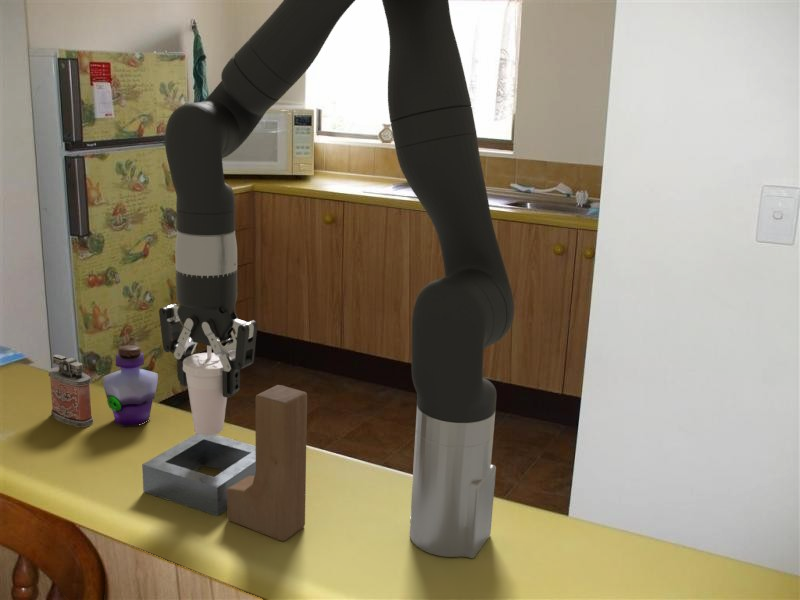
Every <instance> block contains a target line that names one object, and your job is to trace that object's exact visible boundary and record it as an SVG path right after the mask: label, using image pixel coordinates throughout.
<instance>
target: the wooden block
mask: <svg viewBox="0 0 800 600" xmlns="http://www.w3.org/2000/svg"><path fill="white" fill-rule="evenodd" d="M307 419H308V393H307V392H306V391H302V390H300V389H295V388H293V387H289V386H285V385H281V384H276V385H274V386H272V387H271V388H268V389H266V390H264V391H262V392H260V393H258V394H256V396H255V446H256V472H255V476H248V477H246V478H244V479H243V480H241V481H239V482H238V483H236V484H234V485H233V486H231V487H229V488H228V489H227V510H226V516H227V520H228V521H229V522H231V523H235V524H238V525H240V526H242V527H245V528H247V529H250V530H253V531H254V532H257V533H260V534H263V535H264V536H268V537H270V538H273V539H275V540H278V541H280V542H286V541H287V540H288V539H291V537H292V536H293V535H295V534H296V533H298V532H299V531H300V530H302V529H303V528H304V527H305V525H306V492H307V491H306V488H307V487H306V484H307V483H306V482H307V481H306V478H307V477H306V475H307V427H308V426H307V422H308V420H307Z"/></svg>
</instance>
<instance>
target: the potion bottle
mask: <svg viewBox="0 0 800 600" xmlns="http://www.w3.org/2000/svg"><path fill="white" fill-rule="evenodd" d="M141 351H142V349H141V347H140V346H139V345H130V344H129V345H122V346H119V347H118V351H117V353H116V354H115V367H118V368H120V370H117V371H114V372H111V373H108V374H106V375H104V376H103V380H102V386H103V389H104V393H105V397H106V402H107V405H108V408H109V409H110V410H111V411H112V414H113V417H114V425H117V426H120V427H124V428H132V427H134V428H135V427H141V426H143V425H144V424H142V423H144V422H146V421H147V423H149V422H148V420H149V417H150V418H151V411H152V405H153V400H154V399H155V396H156V393H157V387H158V382H159V380H158V379H159V377H158V375H159V374H158V373H157V372H154V371H150V370H146V369H143V368H140V367H141V366H143V365H145V356H144V355H145V354H144V352H141ZM149 421H150V422H151V419H150V420H149ZM139 424H142V425H140V426H139Z"/></svg>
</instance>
